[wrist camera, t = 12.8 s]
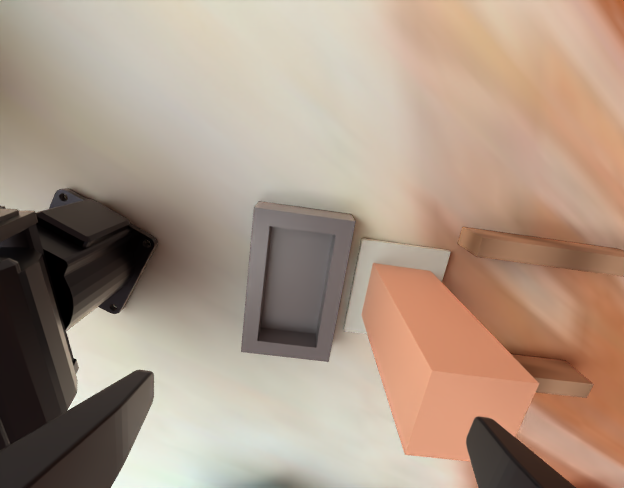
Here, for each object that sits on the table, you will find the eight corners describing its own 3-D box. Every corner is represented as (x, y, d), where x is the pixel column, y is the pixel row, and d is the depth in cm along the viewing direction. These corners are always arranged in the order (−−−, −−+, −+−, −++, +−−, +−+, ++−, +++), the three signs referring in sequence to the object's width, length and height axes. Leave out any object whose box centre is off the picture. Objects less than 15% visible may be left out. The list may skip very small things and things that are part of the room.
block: (361, 314, 22) (405, 454, 12) (373, 262, 21) (432, 370, 11) (415, 322, 22) (502, 464, 12) (430, 270, 21) (539, 383, 11)
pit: (246, 334, 23) (241, 351, 21) (259, 201, 20) (254, 207, 18) (326, 344, 23) (328, 361, 22) (351, 214, 20) (355, 221, 19)
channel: (423, 357, 24) (436, 381, 22) (462, 226, 21) (482, 237, 18) (559, 373, 25) (586, 398, 22) (617, 248, 21) (656, 261, 19)
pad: (343, 328, 23) (344, 331, 23) (361, 238, 21) (362, 239, 21) (422, 337, 23) (424, 341, 23) (448, 249, 21) (450, 251, 21)
